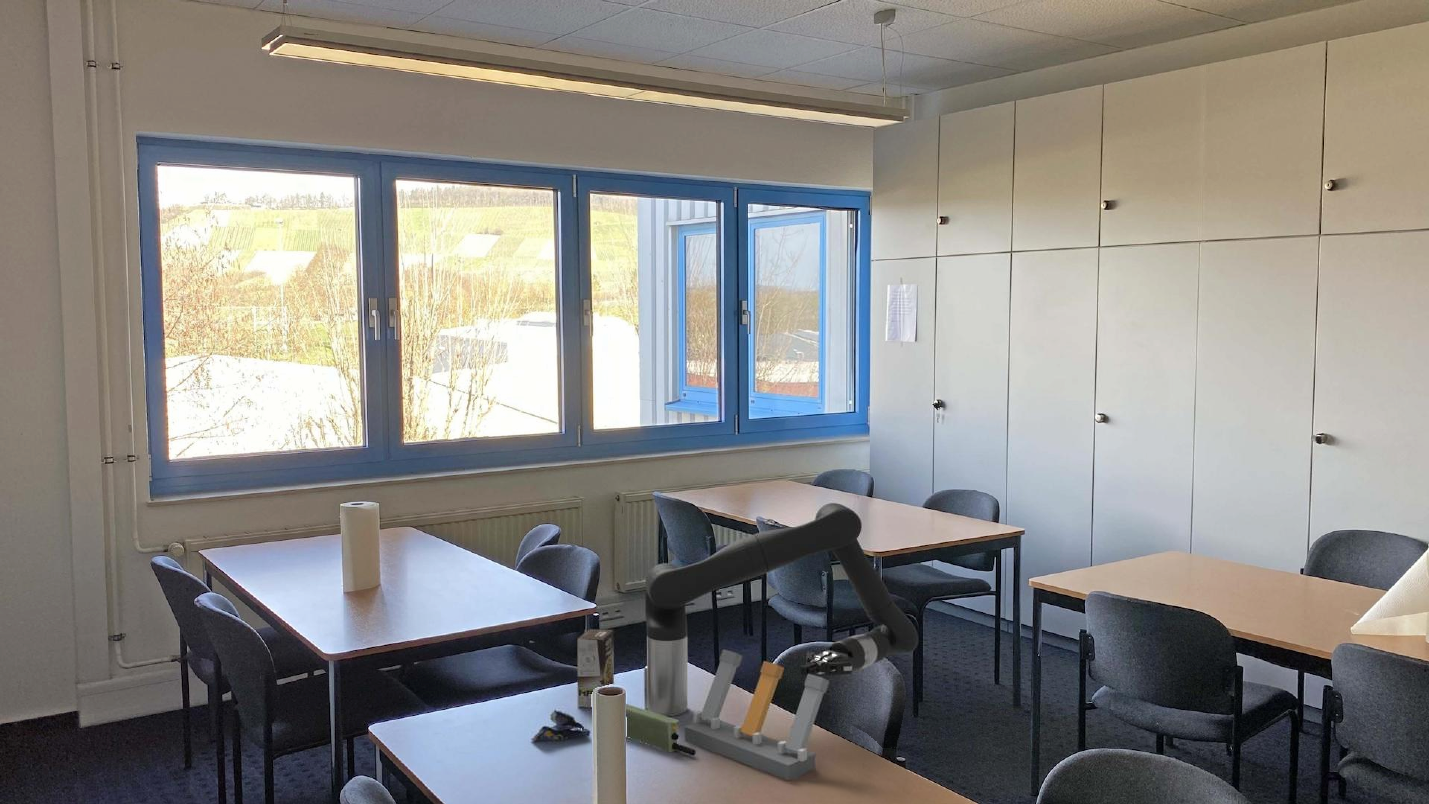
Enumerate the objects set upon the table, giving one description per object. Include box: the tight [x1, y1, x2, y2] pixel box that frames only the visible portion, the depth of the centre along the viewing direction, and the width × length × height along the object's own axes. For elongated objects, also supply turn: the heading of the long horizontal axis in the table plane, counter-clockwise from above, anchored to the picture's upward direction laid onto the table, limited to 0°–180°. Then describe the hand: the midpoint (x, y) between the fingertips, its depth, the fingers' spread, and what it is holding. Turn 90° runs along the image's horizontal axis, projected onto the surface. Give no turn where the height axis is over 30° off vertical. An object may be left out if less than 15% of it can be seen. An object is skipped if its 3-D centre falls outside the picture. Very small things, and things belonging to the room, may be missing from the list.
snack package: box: [530, 709, 591, 743], centre depth 225 cm, size 12×6×12 cm
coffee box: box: [577, 628, 615, 709], centre depth 247 cm, size 9×6×16 cm
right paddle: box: [785, 674, 830, 753], centre depth 209 cm, size 4×2×15 cm, turn 45°
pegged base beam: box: [684, 710, 816, 782], centre depth 215 cm, size 30×8×5 cm, turn 45°
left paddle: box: [700, 648, 743, 721], centre depth 226 cm, size 4×2×15 cm, turn 45°
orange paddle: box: [741, 660, 785, 736], centre depth 218 cm, size 4×2×15 cm, turn 45°
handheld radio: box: [625, 703, 697, 757], centre depth 222 cm, size 7×3×25 cm
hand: (803, 671), depth 227 cm, fingers closed
